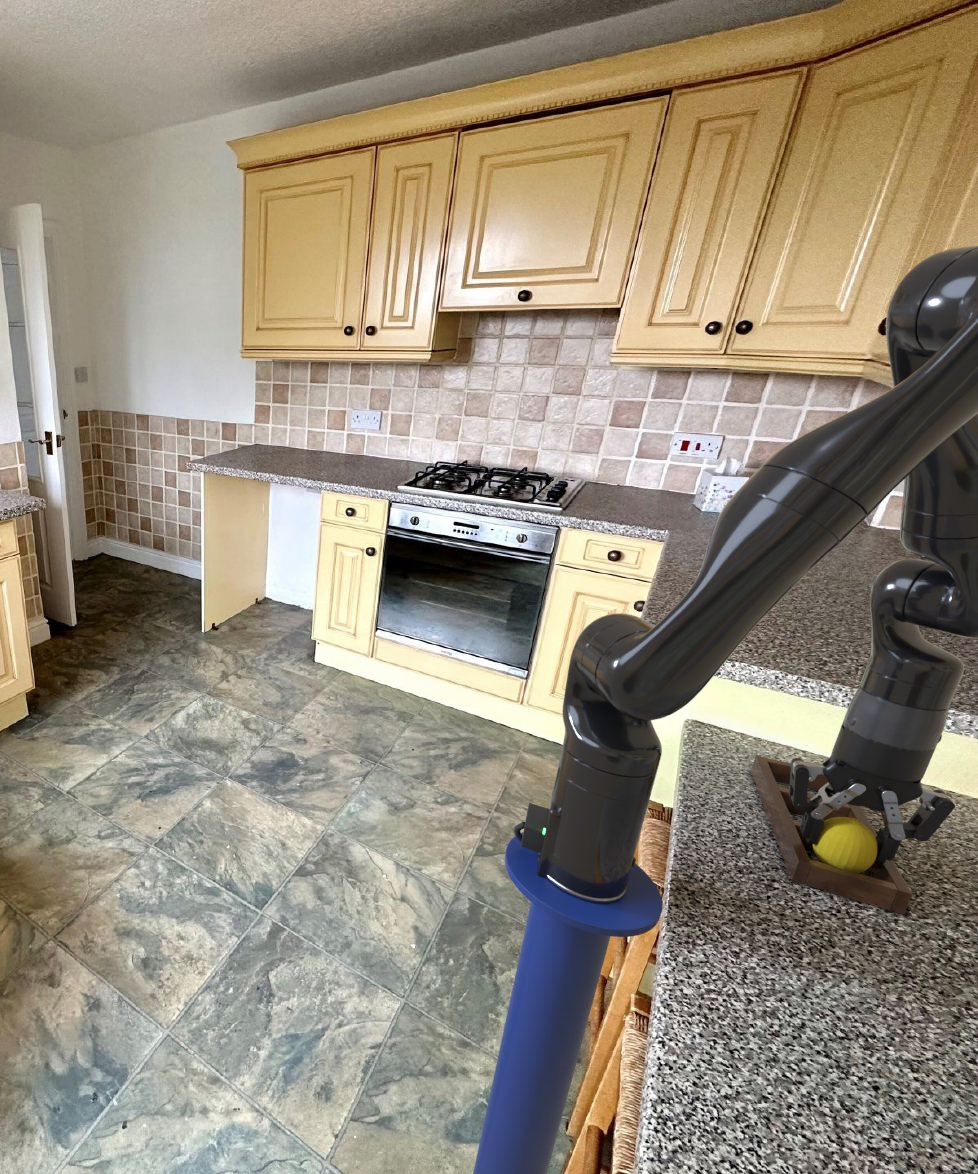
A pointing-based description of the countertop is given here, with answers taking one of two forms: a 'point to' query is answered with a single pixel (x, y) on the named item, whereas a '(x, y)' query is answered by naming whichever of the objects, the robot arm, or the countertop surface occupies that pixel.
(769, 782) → the rack
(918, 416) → the robot arm
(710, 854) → the countertop surface
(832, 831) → the lemon
